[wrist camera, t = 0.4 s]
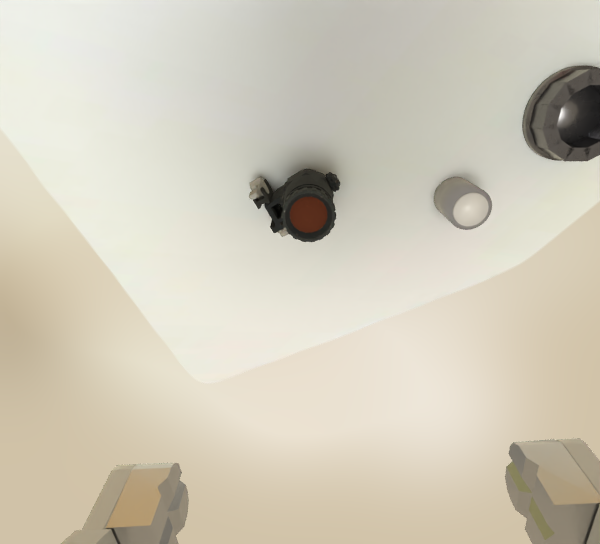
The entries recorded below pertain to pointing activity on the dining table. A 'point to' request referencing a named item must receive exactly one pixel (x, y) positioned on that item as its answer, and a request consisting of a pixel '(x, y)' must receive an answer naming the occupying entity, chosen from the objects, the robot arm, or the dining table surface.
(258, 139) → the dining table surface
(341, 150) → the dining table surface
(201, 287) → the dining table surface
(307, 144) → the dining table surface
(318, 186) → the scope
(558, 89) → the faceted grey ring
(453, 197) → the grey cylinder
